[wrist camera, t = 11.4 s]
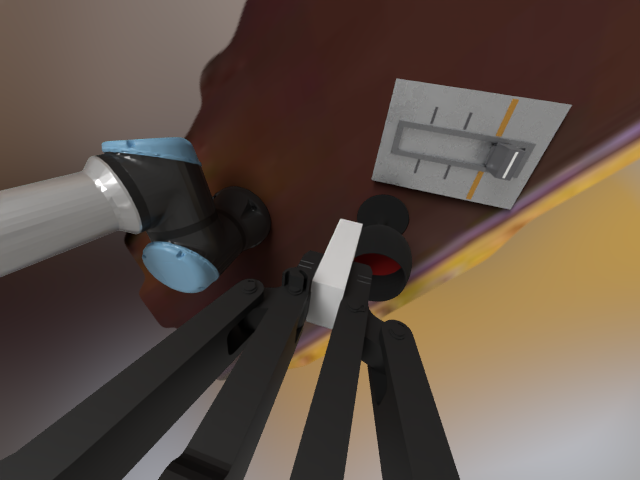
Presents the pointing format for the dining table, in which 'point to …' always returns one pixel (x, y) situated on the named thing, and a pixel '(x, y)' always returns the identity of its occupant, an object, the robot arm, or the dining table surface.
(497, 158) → the fader knob
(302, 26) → the dining table surface
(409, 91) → the console
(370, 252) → the wine glass
